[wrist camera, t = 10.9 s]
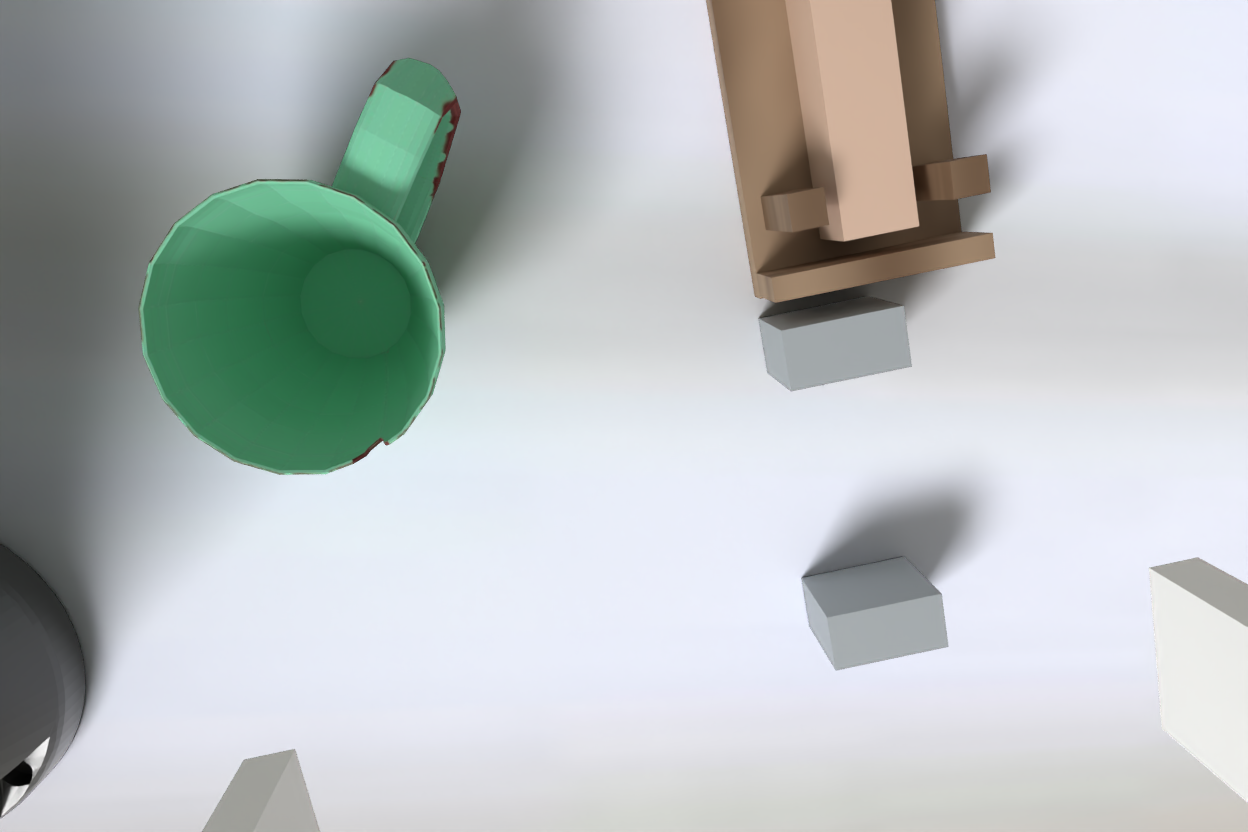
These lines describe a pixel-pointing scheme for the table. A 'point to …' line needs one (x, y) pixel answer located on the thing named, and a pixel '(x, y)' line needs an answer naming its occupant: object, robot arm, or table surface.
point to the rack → (780, 172)
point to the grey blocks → (878, 592)
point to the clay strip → (854, 115)
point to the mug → (310, 295)
